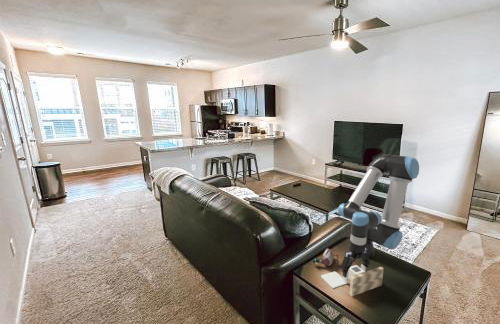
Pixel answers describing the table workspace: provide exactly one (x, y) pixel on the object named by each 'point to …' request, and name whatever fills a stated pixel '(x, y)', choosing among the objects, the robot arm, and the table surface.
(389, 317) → the table surface
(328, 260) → the decorative duck model
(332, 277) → the felt mat
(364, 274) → the birch screen
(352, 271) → the cream cube
